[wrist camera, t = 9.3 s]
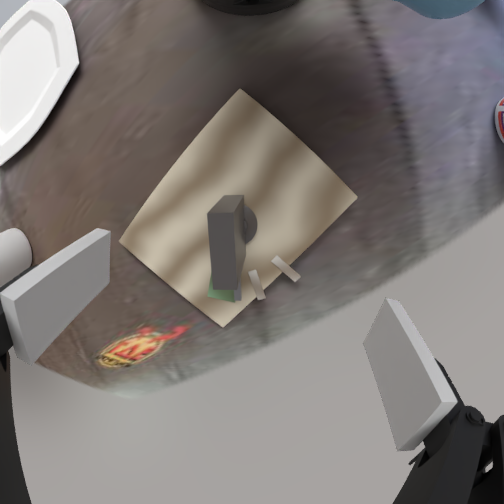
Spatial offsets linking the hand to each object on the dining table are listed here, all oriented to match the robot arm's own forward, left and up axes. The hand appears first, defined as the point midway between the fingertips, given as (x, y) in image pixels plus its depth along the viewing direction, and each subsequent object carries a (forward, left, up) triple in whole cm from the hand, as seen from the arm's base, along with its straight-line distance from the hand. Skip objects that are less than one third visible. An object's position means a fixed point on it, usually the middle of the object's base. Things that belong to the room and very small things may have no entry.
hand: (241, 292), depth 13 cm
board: (-1, -4, -23) cm, 23 cm away
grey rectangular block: (+2, -6, -21) cm, 22 cm away
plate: (-44, -9, -24) cm, 51 cm away
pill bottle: (-26, -33, -23) cm, 48 cm away
